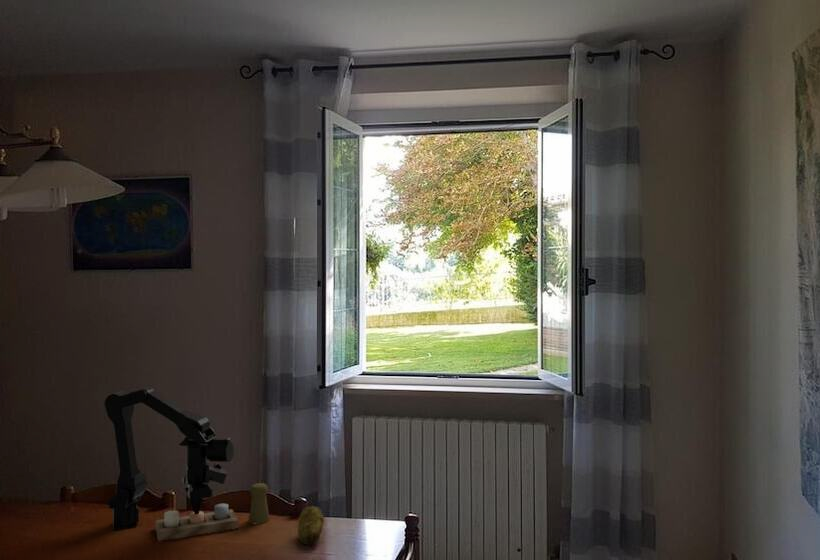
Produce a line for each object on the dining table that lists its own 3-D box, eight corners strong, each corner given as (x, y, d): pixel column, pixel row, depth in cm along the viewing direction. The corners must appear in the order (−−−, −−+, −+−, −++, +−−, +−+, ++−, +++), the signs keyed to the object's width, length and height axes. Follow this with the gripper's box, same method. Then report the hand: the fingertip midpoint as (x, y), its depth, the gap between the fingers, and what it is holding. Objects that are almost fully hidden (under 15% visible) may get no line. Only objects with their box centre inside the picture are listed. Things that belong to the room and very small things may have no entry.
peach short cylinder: (190, 530, 189) (190, 517, 189) (188, 526, 193) (188, 512, 193) (204, 528, 191) (204, 514, 191) (203, 523, 195) (203, 510, 195)
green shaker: (271, 517, 202) (271, 481, 201) (265, 524, 195) (265, 487, 195) (252, 516, 202) (252, 480, 202) (246, 523, 196) (246, 487, 196)
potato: (287, 546, 179) (287, 517, 179) (304, 529, 192) (304, 501, 192) (316, 549, 178) (316, 519, 178) (331, 531, 190) (331, 503, 190)
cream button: (164, 530, 186) (164, 516, 186) (163, 525, 190) (163, 511, 190) (179, 528, 188) (179, 514, 188) (178, 523, 192) (178, 509, 192)
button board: (158, 541, 183) (158, 532, 183) (155, 528, 192) (155, 520, 192) (238, 528, 192) (238, 520, 192) (232, 517, 201) (232, 509, 201)
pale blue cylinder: (215, 522, 192) (215, 509, 192) (213, 518, 196) (213, 504, 196) (229, 520, 194) (229, 507, 194) (227, 516, 198) (227, 502, 198)
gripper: (230, 465, 187) (230, 520, 187) (219, 450, 204) (219, 500, 204) (189, 470, 182) (189, 526, 182) (182, 453, 199) (182, 505, 199)
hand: (196, 513), depth 192 cm, fingers closed, pressing on peach short cylinder
